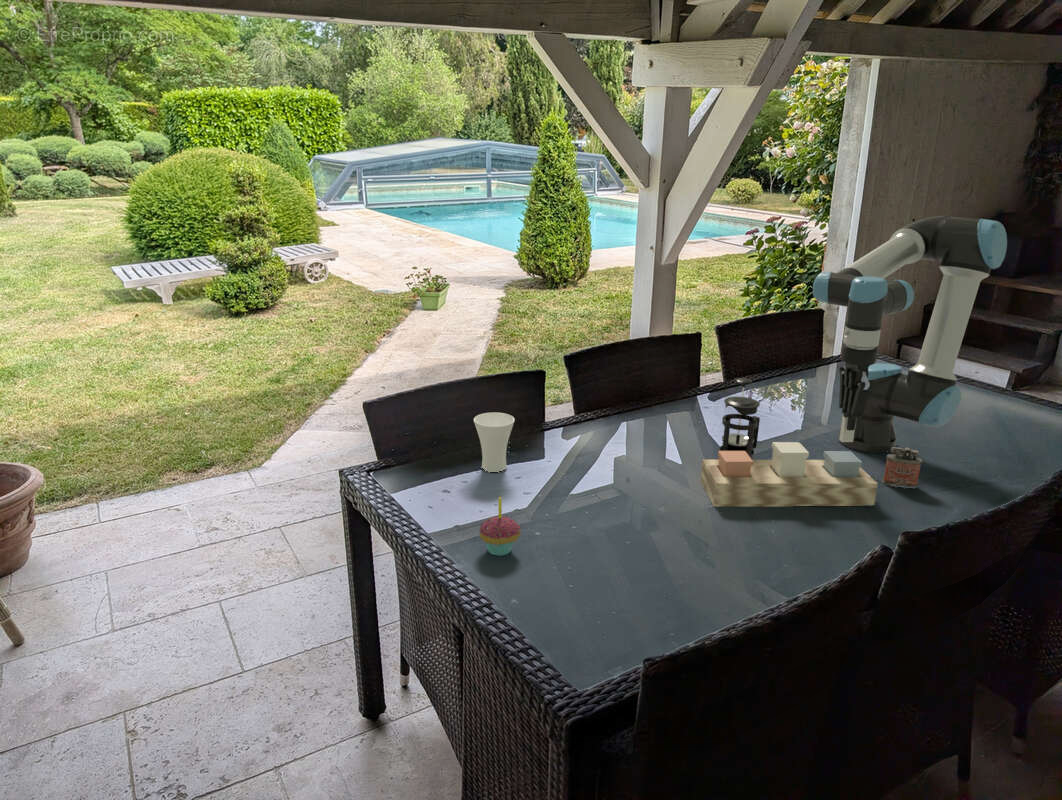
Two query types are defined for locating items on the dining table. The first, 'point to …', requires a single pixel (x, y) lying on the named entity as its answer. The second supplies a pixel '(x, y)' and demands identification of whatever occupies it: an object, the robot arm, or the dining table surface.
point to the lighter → (902, 467)
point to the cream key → (789, 459)
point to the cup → (494, 439)
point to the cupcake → (499, 533)
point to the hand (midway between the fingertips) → (846, 440)
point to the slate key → (841, 463)
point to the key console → (786, 487)
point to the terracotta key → (734, 463)
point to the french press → (738, 440)
